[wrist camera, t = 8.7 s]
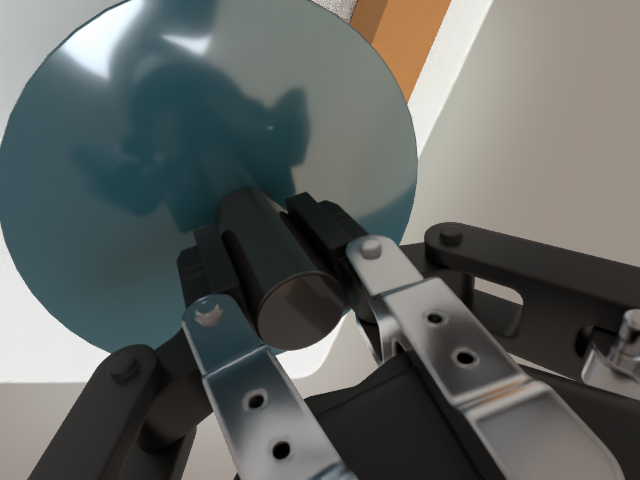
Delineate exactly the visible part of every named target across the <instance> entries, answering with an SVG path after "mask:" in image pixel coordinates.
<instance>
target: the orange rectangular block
mask: <svg viewBox="0 0 640 480" xmlns="http://www.w3.org/2000/svg"><path fill="white" fill-rule="evenodd" d="M450 2H451V0H358V2H357V5H356V7H355V10H354V13H353V16H352V19H351V22H350V24H349V25H351V26H352V27H353V28H354V29H356V30H357V31H358V32H359V33H360V34H361V35H362V36H363V37H364V38H365V39H366V40H367V41H368V42H369V43H370V44H371V45H372V46H373V47H374V48H375V49H376V51H377V52H378V53H379V55H380V56H381V57H382V59H383V60H384V62H385V63H386V64H387V66H388V67H389V69H390V70H391V71H392V73H393V75H394V77H395V79H396V81H397V83H398V85H399V87H400V89H401V91H402V93H403V95H404V98H405V100H406V103H408V101H409V98H410V96H411V93H412V91H413V89H414V86H415V84H416V82H417V79H418V77H419V75H420V72H421V70H422V68H423V65H424V63H425V61H426V58H427V56H428V54H429V51H430V49H431V47H432V44H433V42H434V40H435V37H436V35H437V33H438V30H439V28H440V26H441V23H442V21H443V19H444V16H445V14H446V11H447V9H448V7H449V4H450Z"/></svg>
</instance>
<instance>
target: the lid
mask: <svg viewBox="0 0 640 480" xmlns="http://www.w3.org/2000/svg"><path fill="white" fill-rule="evenodd" d="M417 165H418V158H417V146H416V137H415V132H414V127H413V123H412V118H411V114H410V112H409V109H408V106H407V103H406V100H405V98H404V95H403V93H402V91H401V89H400V87H399V85H398V83H397V81H396V79H395V77H394V75H393V73H392V71H391V70H390V69H389V67H388V66H387V64H386V63H385V62H384V60H383V59H382V57H381V56H380V55H379V53H378V52H377V51H376V49H375V48H374V47H373V46H372V45H371V44H370V43H369V42H368V41H367V40H366V39H365V38H364V37H363V36H362V35H361V34H360V33H359V32H358V31H357V30H356V29H354V28H353V27H352V26H351V25H349V24H348V23H347V22H345V21H344V20H343V19H341V18H340V17H339V16H338V15H336V14H335V13H333V12H331V11H329V10H328V9H326V8H324V7H322V6H320V5H319V4H317V3H315V2H313V1H311V0H125V1H122V2H120V3H118V4H116V5H113V6H111V7H109V8H107V9H105V10H104V11H102V12H101V13H99V14H98V15H96V16H95V17H93V18H92V19H90V20H89V21H87V22H86V23H84V24H83V25H81V26H80V27H78V28H77V29H75V30H74V31H73V32H72V33H71V34H70V35H69V36H68V37H66V38H65V39H64V40H63V41H62V42H61V43H60V44H59V45H58V46H57V47H56V48H55V49H54V50H53V51H52V52H50V53H49V54H48V55H47V57H46V58H45V59H44V61H43V62H42V63H41V65H40V66H39V67H38V69H37V70H36V71H35V73H34V74H33V75H32V77H31V78H30V79H29V81H28V82H27V83H26V85H25V87H24V89H23V90H22V92H21V94H20V96H19V98H18V100H17V102H16V104H15V106H14V108H13V110H12V112H11V114H10V116H9V119H8V123H7V126H6V129H5V132H4V136H3V139H2V142H1V146H0V224H1V228H2V232H3V236H4V240H5V243H6V246H7V248H8V250H9V253H10V255H11V257H12V260H13V262H14V264H15V267H16V269H17V270H18V272H19V274H20V275H21V277H22V278H23V280H24V281H25V283H26V285H27V286H28V288H29V289H30V291H31V292H32V294H33V295H34V296H35V297H36V298H37V299H38V301H39V302H40V303H41V304H42V305H43V306H44V307H45V308H46V310H47V311H48V312H49V313H50V314H51V315H52V316H53V317H55V318H56V319H57V320H58V321H59V322H61V323H62V324H63V325H64V326H65V327H66V328H68V329H69V330H70V331H72V332H73V333H75V334H76V335H78V336H79V337H81V338H82V339H84V340H86V341H87V342H89V343H90V344H92V345H94V346H96V347H98V348H100V349H102V350H105V351H107V352H109V353H111V354H112V353H114V352H115V351H117V350H119V349H121V348H123V347H126V346H129V345H133V344H145V345H148V346H150V347H151V348H153V350H155V349H156V348H158V347H159V346H161V345H162V344H164V343H165V342H167V341H168V340H169V339H171V338H172V337H173V336H174V335H175V334H176V333H177V332H178V331H179V330H180V329H181V328H182V325H181V319H182V315H183V313H184V312H185V310H186V307H185V302H184V297H183V292H182V287H181V281H180V277H179V272H178V267H177V262H176V261H177V259H178V257H179V254H180V252H181V250H184V249H187V248H189V247H192V246H195V245H197V243H196V240H195V237H194V233H193V230H194V229H197V228H200V227H203V226H206V225H209V224H212V223H215V224H216V227H217V229H218V231H219V234H220V236H221V239H222V241H223V243H224V246H225V248H226V251H227V253H228V255H229V258H230V260H231V263H232V265H233V267H234V270H235V272H236V275H237V277H238V279H239V282H240V284H241V287H242V290H243V293H244V296H245V298H246V301H247V304H248V307H249V314H250V318H251V320H252V323H253V325H254V328H255V330H256V333H257V335H258V336H259V338H260V341H261V343H262V344H263V343H265V342H266V343H267V344H268V346H269V347H270V349H271V350H272V352H273V353H274V355H275V356H276V355H278V354H281V353H283V352H286V351H292V350H299V349H303V348H306V347H309V346H311V345H313V344H315V343H317V342H319V341H320V340H322V339H323V338H325V337H326V336H327V335H328V334H329V333H330V332H331V331H332V330H333V329H334V328H335V327H336V326H337V324H338V323H339V321H340V320H341V318H342V317H343V316H344V315H345V314H346V313H348V312H349V311H350V310H351V309H352V308H351V309H348V310H346V311H344V310H345V306H346V294H345V290H344V287H343V285H342V284H341V282H340V281H339V280H338V278H337V277H336V276H335V274H334V273H333V272H332V271H331V269H330V268H329V267H328V265H327V264H326V263H325V262H324V260H323V259H322V258H321V256H320V255H319V254H318V253H317V251H316V250H315V249H314V247H313V246H312V245H311V244H310V242H309V241H308V240H307V238H306V237H305V236H304V235H303V233H302V232H301V231H300V229H299V228H298V227H297V226H296V224H295V223H294V222H293V220H292V219H291V218H290V217H289V215H288V212H287V208H286V203H285V199H286V198H288V197H291V196H294V195H297V194H300V193H303V192H308V193H309V194H310V195H311V196H312V197H313V198H314V199H315V200H316V201H317V202H321V201H324V200H327V201H330V202H333V203H336V204H338V205H339V206H340V207H341V208H342V209H343V210H344V211H345V213H346V212H347V213H348V214H349V215H350V216H351V218H353V219H354V220H355V221H356V222H357V223H358V224H359V225H360V226H361V227H363V228H364V229H365V230H366V231H367V232H368V233H369V234H370V235H382V236H386V237H388V238H390V239H391V240H393V241H394V242H395V244H396V245H397V246H399V244H400V242H401V240H402V237H403V234H404V232H405V229H406V227H407V224H408V221H409V217H410V214H411V210H412V207H413V203H414V196H415V191H416V184H417Z"/></svg>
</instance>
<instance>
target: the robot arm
mask: <svg viewBox="0 0 640 480" xmlns="http://www.w3.org/2000/svg"><path fill="white" fill-rule="evenodd" d="M285 203H286V208H287V212H288V215H289V217H290V218H291V219H292V220H293V222H294V223H295V224H296V226H297V227H298V228H299V229H300V231H301V232H302V233H303V235H304V236H305V237H306V238H307V240H308V241H309V242H310V244H311V245H312V246H313V247H314V249H315V250H316V251H317V253H318V254H319V255H320V256H321V258H322V259H323V260H324V262H325V263H326V264H327V265H328V267H329V268H330V269H331V271H332V272H333V273H334V274H335V276H336V277H337V278H338V280H339V281H340V282H341V284H342V285H343V287H344V290H345V294H346V306H345V310H344V311H346V310H348V309H351V308H352V309H353V311H354V312H355V315H356V323H357V326H358V328H359V330H360V332H361V334H362V336H363V338H364V340H365V342H366V344H367V346H368V348H369V350H370V351H371V353H372V356H373V357H374V359H375V361H376V363H377V365H378V367H379V368H378V369H377V370H375V371H374V372H373V373H372V374H371V375H369V376H368V377H367V378H366V379H365V380H363V381H362V382H361V383H360V384H358V385H356V386H354V387H350V388H346V389H341V390H337V391H332V392H328V393H324V394H319V395H315V396H310V397H308V398H306V399H303V398H302V397H301V395H300V394H299V392H298V391H297V389H296V387H295V386H294V384H293V383H292V381H291V380H290V378H289V377H288V375H287V373H286V372H285V370H284V369H283V367H282V366H281V364H280V363H279V361H278V359H277V358H276V356H275V355H274V353H273V352H272V350H271V349H270V347H269V346H268V344H267V343H266V342H265V343H263V344H262V343H261V341H260V338H259V336H258V335H257V333H256V330H255V328H254V325H253V323H252V320H251V318H250V314H249V307H248V304H247V301H246V298H245V296H244V293H243V290H242V287H241V284H240V282H239V279H238V277H237V275H236V272H235V270H234V267H233V265H232V263H231V260H230V258H229V255H228V253H227V251H226V248H225V246H224V243H223V241H222V239H221V236H220V234H219V231H218V229H217V227H216V224H215V223H212V224H209V225H206V226H203V227H200V228H197V229H194V230H193V233H194V237H195V240H196V243H197V245H195V246H192V247H189V248H187V249H184V250H181V252H180V254H179V257H178V259H177V261H176V262H177V267H178V272H179V277H180V281H181V287H182V292H183V297H184V302H185V307H186V310H185V312H184V313H183V315H182V319H181V325H182V328H181V329H180V330H179V331H178V332H177V333H176V334H175V335H174V336H173V337H172V338H171V339H169V340H168V341H167V342H165V343H164V344H162V345H161V346H159V347H158V348H156V349H155V350H153V348H151V347H150V346H148V345H145V344H133V345H129V346H126V347H123V348H121V349H119V350H117V351H115V352H114V353H112V354H111V355H109V356H108V357H107V358H106V359H105V360H103V361H102V363H101V364H100V365H99V366H98V367H97V369H96V370H95V372H94V373H93V375H92V377H91V378H90V380H89V381H88V383H87V385H86V386H85V388H84V389H83V391H82V393H81V394H80V396H79V397H78V399H77V401H76V402H75V404H74V405H73V407H72V409H71V410H70V412H69V413H68V415H67V417H66V418H65V420H64V421H63V423H62V425H61V426H60V428H59V430H58V431H57V433H56V434H55V436H54V438H53V439H52V441H51V442H50V444H49V446H48V447H47V449H46V450H45V452H44V454H43V455H42V457H41V458H40V460H39V462H38V463H37V465H36V466H35V468H34V470H33V471H32V473H31V475H30V476H29V478H28V479H27V480H181V478H182V475H183V472H184V469H185V466H186V463H187V460H188V456H189V453H190V450H191V448H192V445H193V441H194V438H195V435H196V430H197V425H198V424H199V423H200V422H201V421H203V420H204V419H205V418H206V417H207V416H209V415H210V414H211V413H212V412H214V413H215V416H216V418H217V421H218V424H219V426H220V428H221V431H222V434H223V436H224V439H225V441H226V444H227V446H228V449H229V451H230V454H231V456H232V459H233V461H234V464H235V466H236V469H237V474H236V476H235V478H234V480H640V267H636V266H632V265H628V264H624V263H620V262H616V261H611V260H607V259H604V258H599V257H595V256H592V255H587V254H583V253H579V252H575V251H571V250H567V249H563V248H559V247H555V246H551V245H547V244H543V243H539V242H535V241H531V240H527V239H523V238H519V237H515V236H510V235H506V234H502V233H498V232H494V231H490V230H486V229H481V228H478V227H473V226H470V225H466V224H462V223H456V222H445V223H439V224H436V225H434V226H432V227H430V228H429V229H428V230H427V231H426V232H425V236H424V242H422V243H417V244H410V245H402V246H397V245H396V244H395V242H394V241H393V240H391V239H390V238H388V237H386V236H382V235H370V234H369V233H368V232H367V231H366V230H365V229H364V228H363V227H361V226H360V225H359V224H358V223H357V222H356V221H355V220H354V219H353V218H351V216H350V215H349V214H348V213H347V212H346V213H345V211H344V210H343V209H342V208H341V207H340V206H339V205H338V204H336V203H333V202H330V201H327V200H324V201H321V202H317V201H316V200H315V199H314V198H313V197H312V196H311V195H310V194H309V193H308V192H303V193H300V194H297V195H294V196H291V197H288V198H286V199H285ZM475 277H478V278H481V279H484V280H487V281H490V282H493V283H497V284H499V285H503V286H506V287H509V288H511V289H514V290H515V291H517V292H518V293H519V294H520V295H521V297H522V299H523V305H520V304H517V303H514V302H511V301H508V300H505V299H502V298H499V297H496V296H493V295H491V294H488V293H485V292H482V291H479V290H476V289H474V285H475ZM507 352H508V353H511V354H513V355H515V356H518V357H520V358H523V359H525V360H527V361H530V362H532V363H535V364H537V365H539V366H542V367H544V368H547V369H549V370H552V371H554V372H556V373H559V374H561V375H564V376H566V377H568V378H571V379H573V380H571V379H567V378H564V377H561V376H557V375H554V374H551V373H548V372H544V371H541V370H538V369H534V368H531V367H528V366H525V365H521V364H518V363H516V362H515V361H514V360H513V358H512V357H511V356H510V355H509V354H508V353H507ZM574 380H575V381H574ZM577 381H578V382H577Z"/></svg>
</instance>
